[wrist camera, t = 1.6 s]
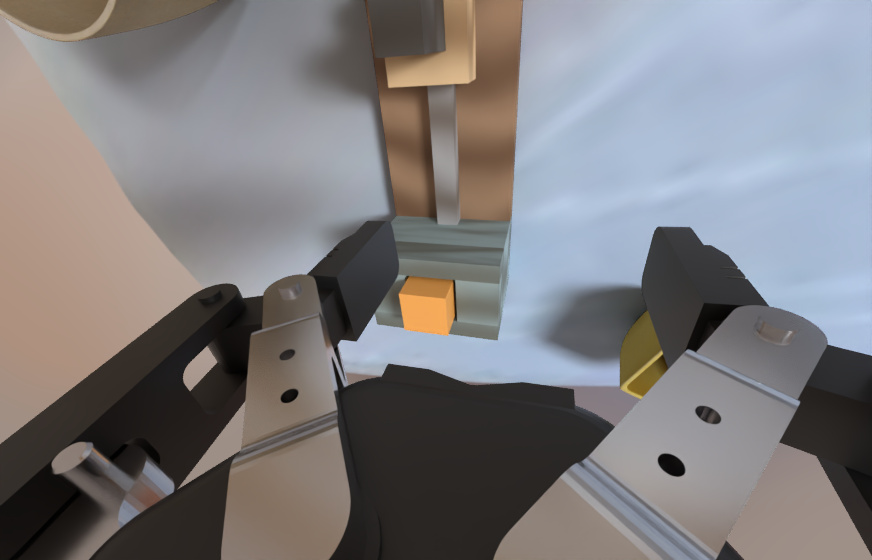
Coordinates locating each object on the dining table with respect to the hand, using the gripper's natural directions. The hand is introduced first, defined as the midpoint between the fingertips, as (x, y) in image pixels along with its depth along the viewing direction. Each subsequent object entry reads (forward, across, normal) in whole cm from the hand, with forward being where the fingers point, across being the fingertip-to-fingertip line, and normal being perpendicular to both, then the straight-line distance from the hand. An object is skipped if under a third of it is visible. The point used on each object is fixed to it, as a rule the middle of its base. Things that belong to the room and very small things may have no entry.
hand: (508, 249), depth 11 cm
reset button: (+14, +8, +13) cm, 21 cm away
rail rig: (+24, +8, +2) cm, 25 cm away
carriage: (+22, +7, -7) cm, 24 cm away
